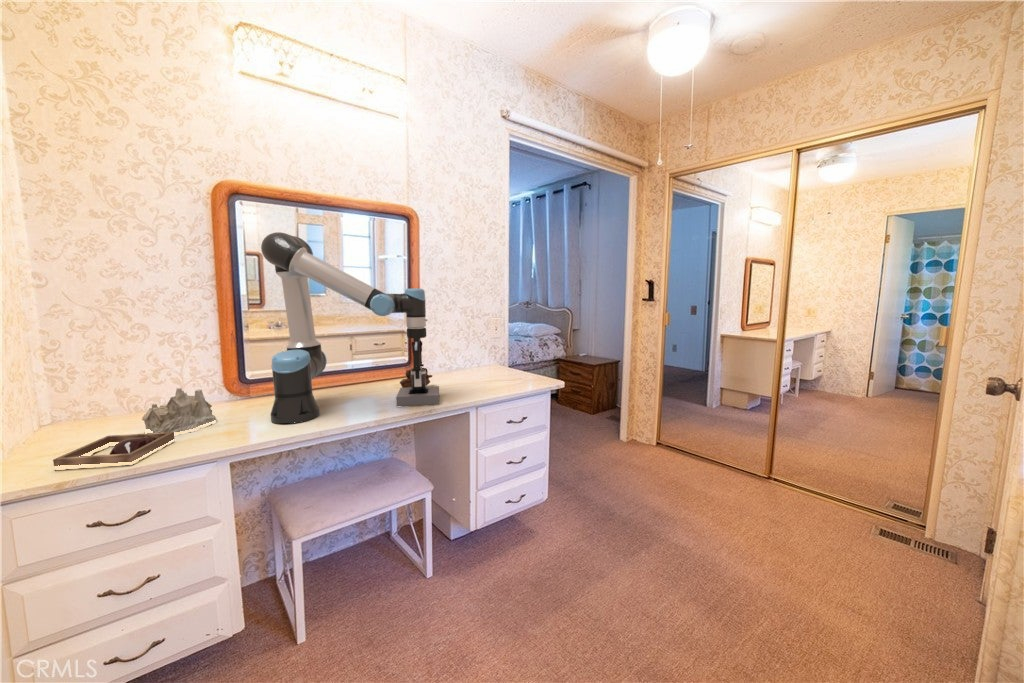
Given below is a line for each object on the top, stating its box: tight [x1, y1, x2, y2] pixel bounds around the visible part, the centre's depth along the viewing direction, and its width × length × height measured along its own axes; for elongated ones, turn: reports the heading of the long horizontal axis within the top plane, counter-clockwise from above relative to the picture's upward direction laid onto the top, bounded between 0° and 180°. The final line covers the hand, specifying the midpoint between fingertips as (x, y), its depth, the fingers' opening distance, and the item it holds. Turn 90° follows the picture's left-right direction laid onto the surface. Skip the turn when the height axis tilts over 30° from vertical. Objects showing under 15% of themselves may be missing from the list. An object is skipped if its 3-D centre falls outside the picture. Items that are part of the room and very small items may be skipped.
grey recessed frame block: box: [395, 385, 440, 407], centre depth 156 cm, size 16×14×4 cm
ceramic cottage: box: [141, 387, 217, 433], centre depth 126 cm, size 16×16×15 cm
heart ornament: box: [108, 436, 157, 455], centre depth 107 cm, size 6×12×11 cm
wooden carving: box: [399, 367, 433, 388], centre depth 174 cm, size 16×5×10 cm, turn 143°
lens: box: [411, 369, 427, 394], centre depth 156 cm, size 6×6×10 cm
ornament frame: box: [52, 432, 175, 467], centre depth 106 cm, size 17×16×3 cm
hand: (418, 384), depth 156 cm, fingers closed on lens, 6 cm apart
